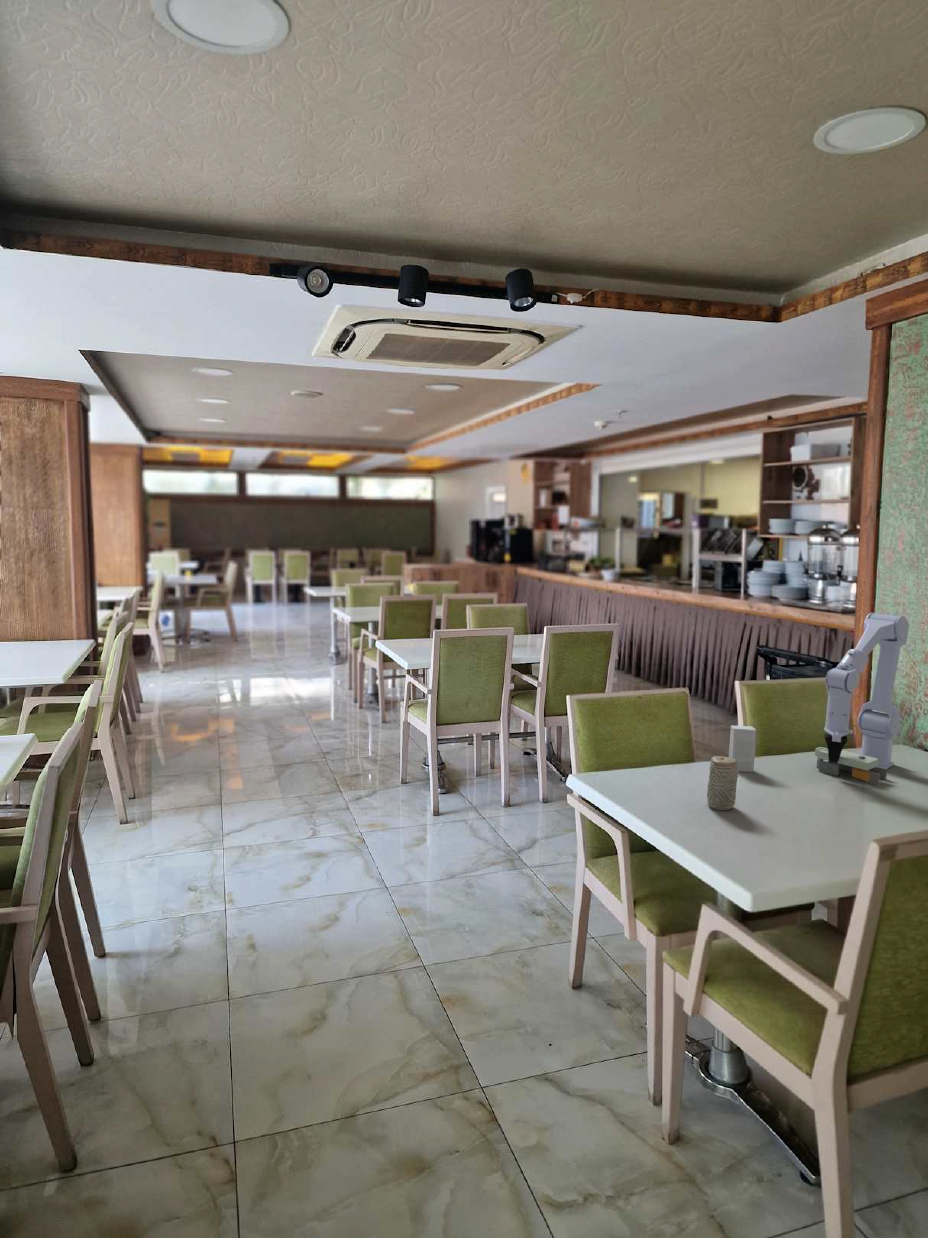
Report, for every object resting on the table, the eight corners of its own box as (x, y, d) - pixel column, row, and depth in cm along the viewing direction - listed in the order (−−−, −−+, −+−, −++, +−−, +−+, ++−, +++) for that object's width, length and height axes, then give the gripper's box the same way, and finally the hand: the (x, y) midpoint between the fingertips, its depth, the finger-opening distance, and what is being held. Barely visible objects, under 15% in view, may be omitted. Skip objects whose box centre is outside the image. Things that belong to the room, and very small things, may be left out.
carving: (701, 807, 182) (704, 758, 181) (714, 800, 188) (717, 752, 186) (727, 815, 178) (731, 764, 176) (739, 807, 183) (743, 758, 182)
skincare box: (749, 768, 215) (752, 726, 214) (753, 772, 211) (757, 730, 209) (727, 766, 216) (730, 724, 214) (730, 771, 211) (734, 728, 210)
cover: (821, 764, 221) (823, 744, 220) (876, 778, 210) (878, 757, 209) (810, 768, 216) (812, 748, 216) (866, 783, 205) (868, 761, 204)
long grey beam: (828, 766, 220) (829, 755, 219) (886, 779, 210) (887, 768, 209) (818, 771, 214) (819, 761, 214) (877, 785, 204) (878, 774, 203)
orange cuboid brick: (856, 775, 212) (857, 767, 212) (875, 781, 208) (876, 773, 207) (851, 777, 211) (852, 768, 211) (870, 783, 207) (871, 774, 206)
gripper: (855, 720, 199) (850, 771, 201) (853, 709, 212) (848, 757, 214) (825, 716, 202) (821, 766, 204) (825, 706, 215) (821, 753, 217)
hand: (833, 761), depth 209 cm, fingers closed
